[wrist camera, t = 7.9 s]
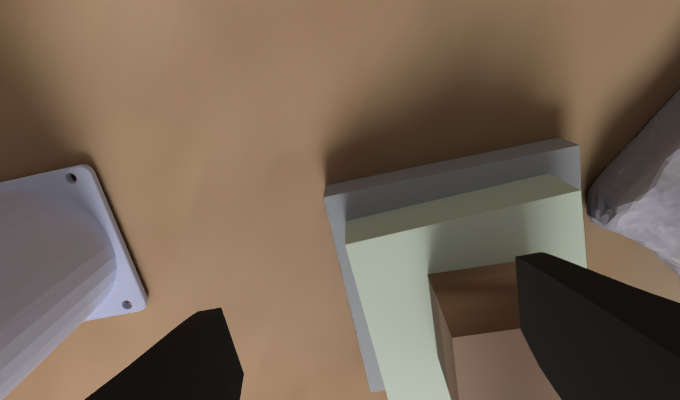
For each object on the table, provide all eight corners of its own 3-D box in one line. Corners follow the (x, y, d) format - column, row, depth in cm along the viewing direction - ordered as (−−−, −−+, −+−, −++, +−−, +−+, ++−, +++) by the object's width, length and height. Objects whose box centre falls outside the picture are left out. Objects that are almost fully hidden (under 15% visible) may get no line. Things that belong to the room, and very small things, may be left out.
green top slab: (388, 378, 21) (393, 419, 19) (345, 221, 18) (344, 244, 16) (566, 343, 20) (595, 381, 18) (549, 173, 17) (580, 190, 15)
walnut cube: (437, 356, 17) (463, 437, 14) (427, 274, 16) (452, 337, 12) (532, 343, 17) (585, 422, 13) (529, 259, 16) (586, 319, 12)
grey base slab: (368, 359, 24) (370, 392, 21) (326, 181, 20) (323, 197, 18) (561, 326, 23) (586, 357, 20) (551, 135, 19) (579, 145, 17)
